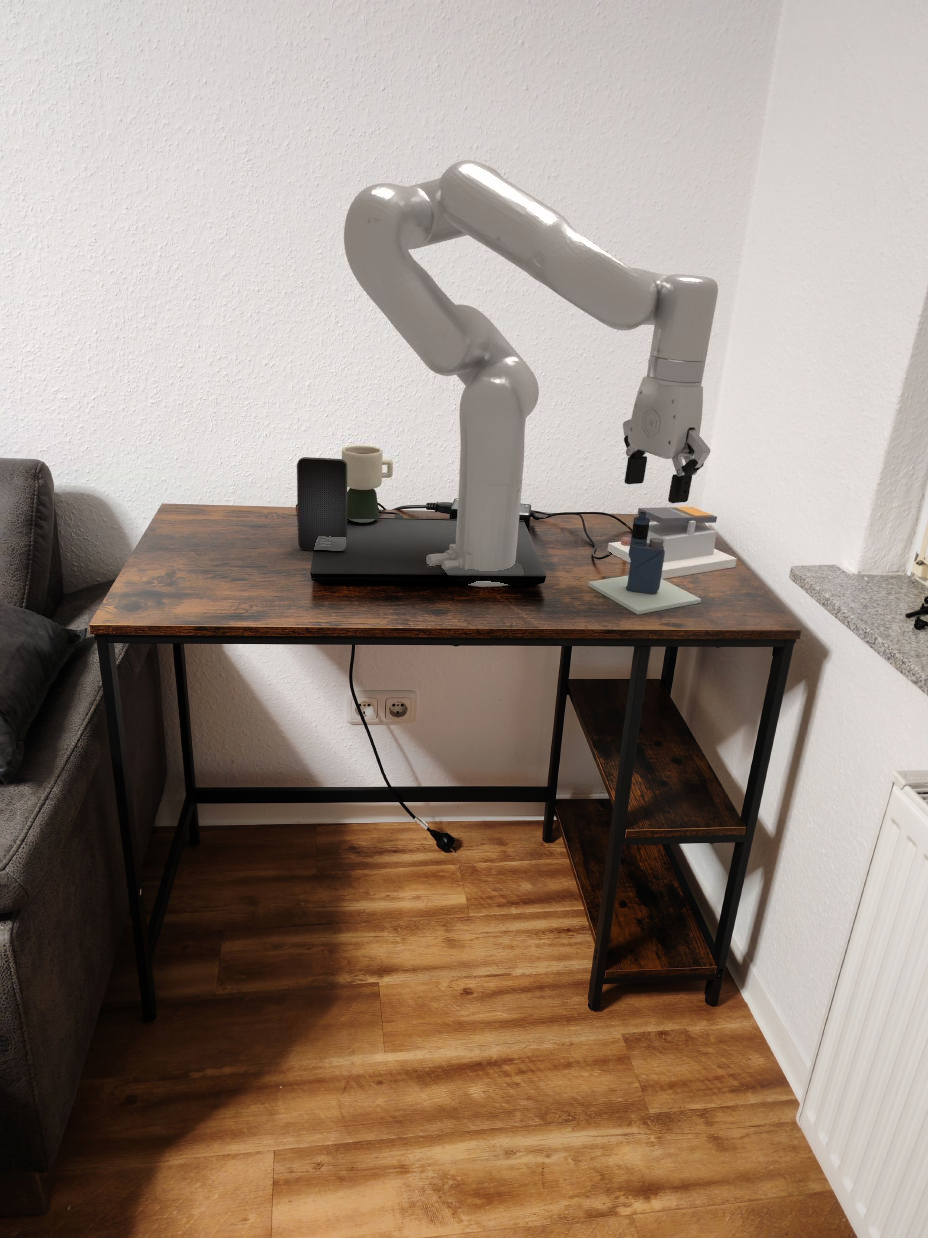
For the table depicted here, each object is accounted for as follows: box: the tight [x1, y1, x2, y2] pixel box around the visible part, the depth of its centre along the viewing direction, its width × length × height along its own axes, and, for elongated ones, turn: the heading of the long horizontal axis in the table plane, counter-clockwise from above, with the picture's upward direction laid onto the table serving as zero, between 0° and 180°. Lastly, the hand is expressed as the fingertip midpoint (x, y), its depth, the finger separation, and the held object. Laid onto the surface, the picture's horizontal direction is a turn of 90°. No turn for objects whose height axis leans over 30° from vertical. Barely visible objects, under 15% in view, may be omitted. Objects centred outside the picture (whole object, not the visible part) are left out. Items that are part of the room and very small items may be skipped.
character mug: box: [341, 444, 394, 520], centre depth 159 cm, size 11×7×13 cm, turn 105°
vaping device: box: [626, 512, 665, 594], centre depth 134 cm, size 3×5×12 cm, turn 78°
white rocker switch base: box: [607, 521, 738, 580], centre depth 151 cm, size 16×14×8 cm
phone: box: [296, 456, 348, 551], centre depth 143 cm, size 8×1×15 cm, turn 92°
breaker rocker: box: [637, 506, 718, 524], centre depth 149 cm, size 12×6×1 cm, turn 119°
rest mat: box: [587, 574, 702, 615], centre depth 136 cm, size 12×12×1 cm
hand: (655, 492), depth 130 cm, fingers open, 9 cm apart
